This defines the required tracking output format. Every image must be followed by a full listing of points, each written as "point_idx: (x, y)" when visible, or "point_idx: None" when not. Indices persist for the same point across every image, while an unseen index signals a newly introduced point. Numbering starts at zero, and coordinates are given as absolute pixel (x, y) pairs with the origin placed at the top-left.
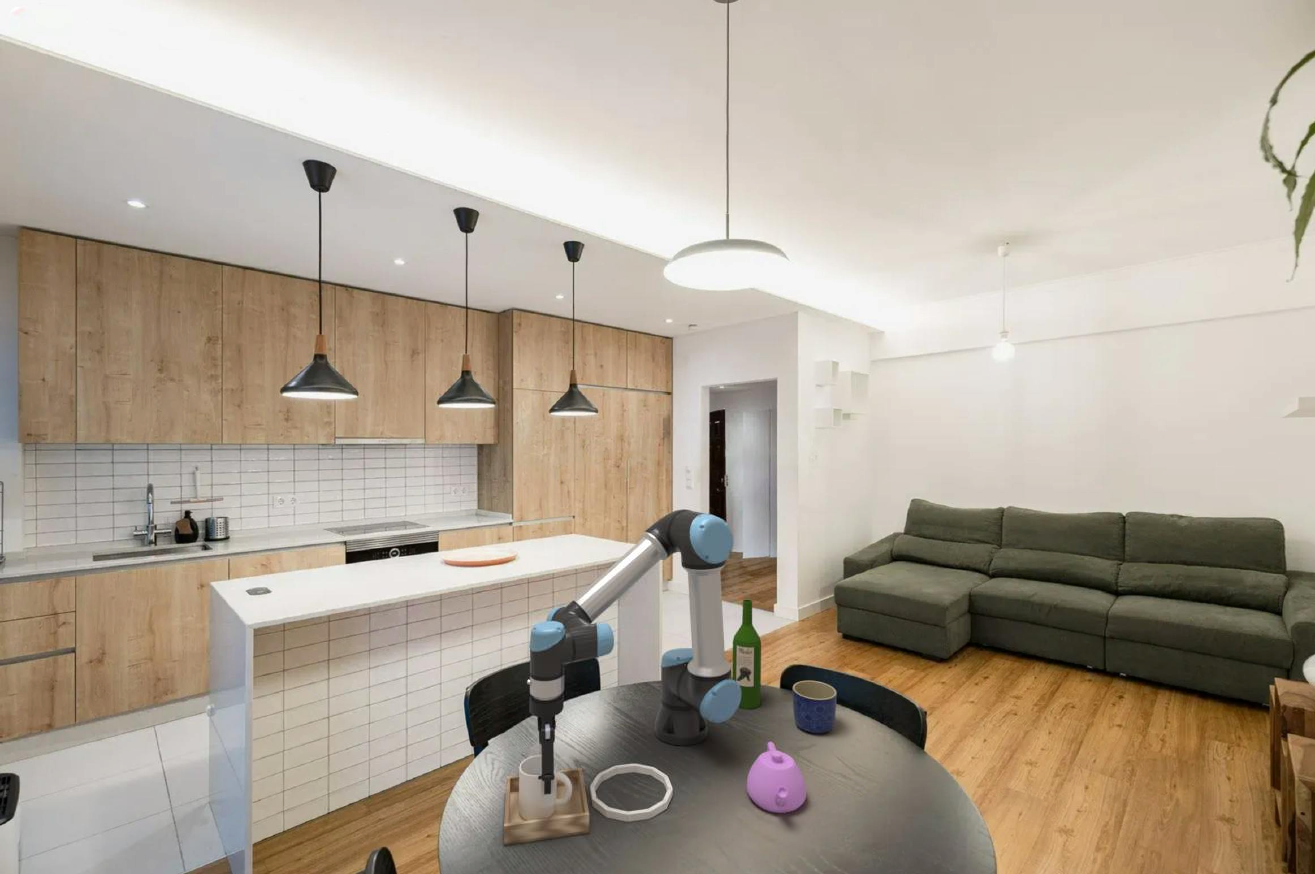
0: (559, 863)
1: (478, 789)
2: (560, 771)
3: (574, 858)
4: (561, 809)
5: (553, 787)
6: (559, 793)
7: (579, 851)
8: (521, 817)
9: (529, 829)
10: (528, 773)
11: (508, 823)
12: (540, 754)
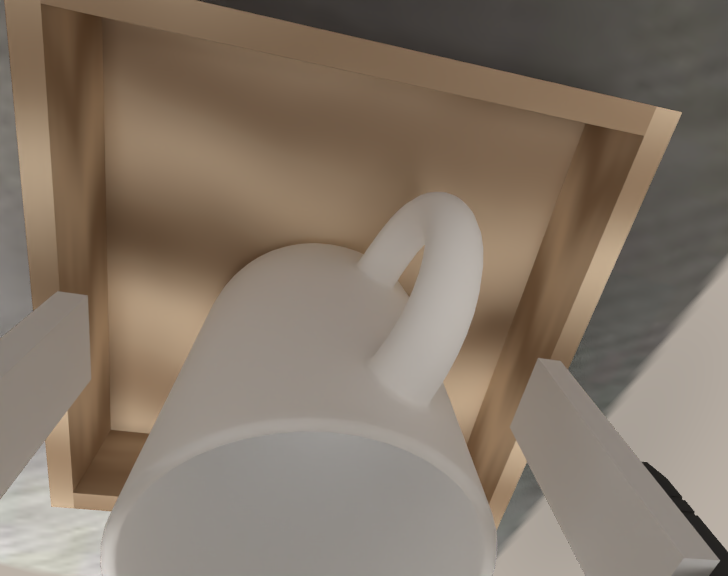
0: (697, 298)
1: (39, 528)
2: (41, 178)
3: (717, 230)
4: (356, 212)
5: (638, 461)
6: (191, 185)
7: (693, 195)
8: None
9: None
10: (187, 497)
11: None
12: (7, 480)
